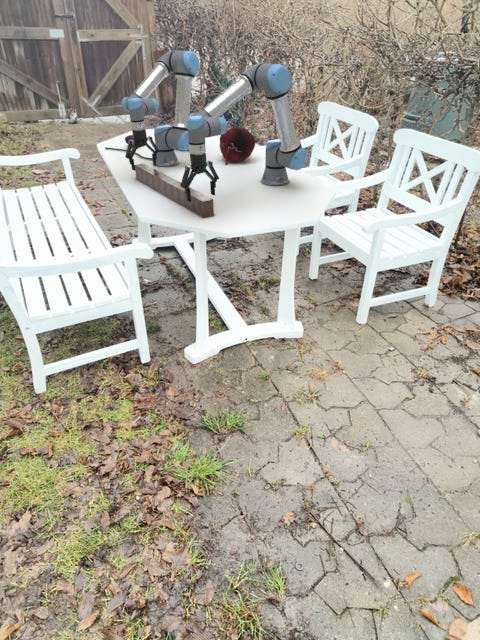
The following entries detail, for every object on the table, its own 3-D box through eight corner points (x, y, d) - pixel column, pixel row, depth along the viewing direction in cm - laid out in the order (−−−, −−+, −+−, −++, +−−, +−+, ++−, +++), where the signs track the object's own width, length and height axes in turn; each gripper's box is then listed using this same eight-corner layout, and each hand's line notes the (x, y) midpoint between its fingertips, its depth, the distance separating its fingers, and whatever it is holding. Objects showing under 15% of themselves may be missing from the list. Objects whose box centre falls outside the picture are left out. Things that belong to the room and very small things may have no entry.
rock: (137, 146, 338) (124, 147, 334) (135, 134, 334) (122, 135, 330) (142, 146, 329) (128, 148, 324) (140, 134, 325) (126, 135, 321)
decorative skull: (216, 133, 304) (216, 130, 280) (250, 125, 303) (253, 121, 280) (223, 165, 311) (223, 165, 287) (256, 157, 310) (259, 157, 286)
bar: (136, 178, 269) (134, 164, 264) (145, 176, 272) (143, 163, 267) (203, 217, 217) (202, 201, 212) (213, 215, 219) (213, 199, 215)
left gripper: (120, 134, 241) (127, 173, 254) (161, 126, 252) (166, 164, 265) (115, 131, 246) (121, 170, 259) (155, 124, 257) (160, 161, 270)
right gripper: (178, 159, 198) (182, 206, 210) (224, 149, 210) (226, 194, 222) (169, 156, 203) (175, 201, 216) (216, 146, 215) (218, 190, 227)
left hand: (144, 167), depth 262 cm, fingers open, 13 cm apart
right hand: (201, 197), depth 219 cm, fingers open, 13 cm apart
